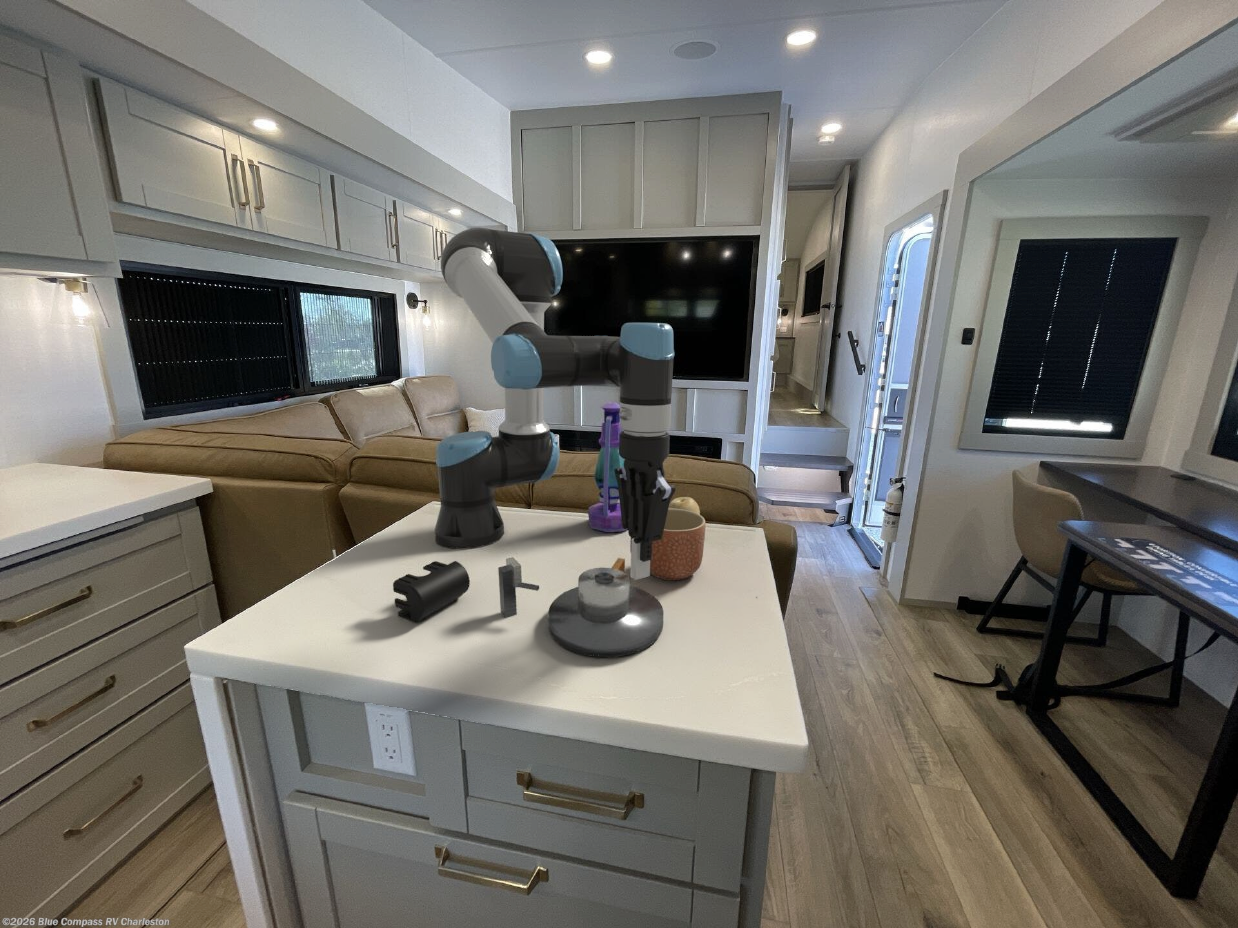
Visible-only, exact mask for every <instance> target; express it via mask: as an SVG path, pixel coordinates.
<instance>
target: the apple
mask: <svg viewBox="0 0 1238 928" xmlns="http://www.w3.org/2000/svg"><path fill="white" fill-rule="evenodd" d="M669 508H673V509H683V510H688V511H692V512H695V513H697V514H699V515H701V514H700V513H701V511H700V506H699V504H698V503H697V502H696V500H694V498H692V497H689V496H683V497H682V496H680V497H675V498H674V499H672V500H670V504H669Z"/></svg>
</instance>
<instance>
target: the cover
mask: <svg viewBox="0 0 1238 928" xmlns="http://www.w3.org/2000/svg"><path fill="white" fill-rule="evenodd" d="M577 580H578V581H577V582H578V584H577V587H578V612H579V613H580V615H581V616H583V617H584V618H586V619H588V620H590V621H594V622H600V623H608V622H614V621H618V620H620V619H622V618H623V617H625V616H626V615H627V613H628V610H629V592H630V586H631V578H630V575H628V574H627V573H624V572H622V571H620V570H617V569H613V568H612V567H595V568H590V569H587V570H585V571H583V572H581V574H580V575H579V576H578V579H577Z"/></svg>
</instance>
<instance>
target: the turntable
mask: <svg viewBox="0 0 1238 928" xmlns="http://www.w3.org/2000/svg"><path fill="white" fill-rule="evenodd" d="M611 568H613V569H617V570H620V571H622V572H624V573H625V570H626V558H620V557H618V558H617V559H616V560H615V562H614V563H613V565H612V566H611ZM625 574H626V573H625ZM547 616H548V618H547V619H548V630H549V633H550V635H551V637H552V639H553V640H554V641H555V642H557V643H558V645H560V646H561V647H563V648H565V649H567V650H568V651H571V652H573V653H576V654H579V655H583V656H589V657H594V658H595V657H596V658H597V657H599V658H614V657H622V656H627V655H631V654H634V653H637V652H640V651H642V650H644V649H646V648H648V647H650V645H652V644H654V643H655V642H656V641H657V640H658V638H659V637H660V636H661V634H662V632H663V629H664V606H663V605H662V604H661V602H660V601H659V599H658V598H657V597H655V595H653V594H651V593H650V592H648V591H647V590H644V589H642V588H640V587H638V586H633V585H630V592H629V610H628V613H627V615H626V616H625V617H623V618H622V619H620V620H618V621H614V622H608V623H600V622H594V621H590V620H588V619H586V618H584V617H583V616H581V615H580V613H579V612H578V586H576V587H574V588H570V589H568V590H566V591H565V592H563V593H561V594H559V595H558V596H557V597H556V598H555V599H554V600H553V601H552V603H550V606H549V609H548V613H547Z"/></svg>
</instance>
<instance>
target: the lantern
mask: <svg viewBox="0 0 1238 928" xmlns="http://www.w3.org/2000/svg"><path fill="white" fill-rule="evenodd" d="M599 407H600V408H601V409H602V410H604V411H603V416H604V417H603V422H602V423H601V434H600V438H599V439H598V443H599V445H600V446H601V448H600V450H599V452H598V453H599V454H598V456H597V459H596V460H597V461H596V465H595V470H594V474H593V479H594V482H595V484H596V486H597V487H598V489H599V494H598V496H599V497H598V501H599V502H597V503H596V504H593V505H591V506H589V507H588V510H587V511H588V513H587V514H588V523H589V525H590V528H591V529H594V530H597V531H601V532H604V533H616V532H625V531H626V530H627V529H623V527H622V519H621V510H620V501H619V492H618V483H617V480H616V476H615V473H614V470H615V469H616V468H621V467H623V466H624V460H625V459H623V458H622V457H621V456H620V455H619V434H620V433H621V432H622V431H623V430H622V429H621V428H620V415H619V412H620V403H617V402H615V401H609V402H607V403H605V404H601V405H600V406H599ZM628 521H629V519H628Z"/></svg>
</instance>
